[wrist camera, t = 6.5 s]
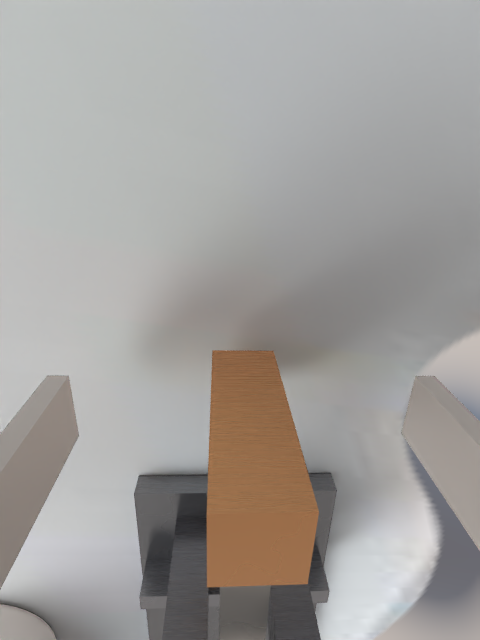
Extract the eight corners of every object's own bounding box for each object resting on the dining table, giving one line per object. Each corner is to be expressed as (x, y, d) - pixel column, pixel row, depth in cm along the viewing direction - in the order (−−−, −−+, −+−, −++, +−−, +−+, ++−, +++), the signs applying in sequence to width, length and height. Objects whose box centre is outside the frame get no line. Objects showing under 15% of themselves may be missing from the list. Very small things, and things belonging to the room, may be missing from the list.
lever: (212, 350, 16) (206, 514, 9) (273, 350, 16) (319, 512, 9) (211, 575, 22) (207, 789, 14) (256, 573, 22) (275, 785, 14)
